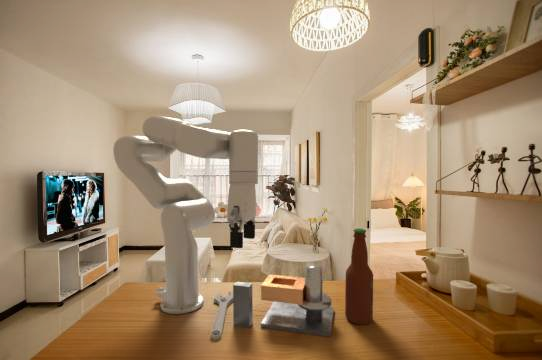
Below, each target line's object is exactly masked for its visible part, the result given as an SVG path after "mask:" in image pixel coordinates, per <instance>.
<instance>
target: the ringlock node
mask: <svg viewBox="0 0 542 360" xmlns="http://www.w3.org/2000/svg"><path fill="white" fill-rule="evenodd" d="M323 269H324V266H323V265H321V264H318V263H307V264H304V277H301V276H290V275H278V274H268V276H266V278H265V280H264V281H263V282H262V283H261V285H260V300H261V301H268V302H272V303H271V305H270V307H269V309H268V310H267V312H266V313H265V316H264V318H263V319H262V321H261V322H260V328H265V329H271V328H272V329H271V330H279V331H285V332H293V333H301V334H306V335H313V336H320V337H327V338H331V337H332V335H331V334H332V330H333V329H332V327H333V319H334V310H335V309H334V308H335V307H334V306H332V301H333V299H332V298H331V296H330V295H328V294H326V293H323V291H324V290H323V289H324V288H323V287H324V286H323V285H324V270H323Z"/></svg>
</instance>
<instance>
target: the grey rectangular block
mask: <svg viewBox="0 0 542 360" xmlns="http://www.w3.org/2000/svg"><path fill="white" fill-rule="evenodd" d="M232 292H233V302H232V304H233V308H232V311H233V327H238V328H239V327H240V328H246V329H251V327H252V325H253V323H254V322H253V313H254V312H253V282H243V281H236V282H235V283H234V284H233V285H232Z"/></svg>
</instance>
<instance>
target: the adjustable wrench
mask: <svg viewBox="0 0 542 360" xmlns="http://www.w3.org/2000/svg"><path fill="white" fill-rule="evenodd" d="M231 302H232V303H233V291H229V290H228V295H226V296H223V295H222V293H221V292H219V293H217V294H216V295H215V297H214V298H213V303H214V304H216V303H217V305H218V309H217V312H216V315H215V318H214V321H213V325H212V327H211V331H210V339H211V340H214V341H217V340H219V339H221V338H222V335H223V329H224V324H225V320H226V314H227V309H228V307H229V306H230V305H231V304H232V303H231Z"/></svg>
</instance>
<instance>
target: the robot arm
mask: <svg viewBox="0 0 542 360" xmlns="http://www.w3.org/2000/svg"><path fill="white" fill-rule="evenodd" d="M142 133H143V135H125V136H122V137H120V138H118V139H117V140H116V141H114V144H113V149H112V150H113V158H114V161H115V165H116V166H117V168H118V170H119V171H120V172H121V173H122V174H123V175H124V176H125V177H126V178H127V179H128V181H130V182H131V183H132V184H133V185H134V186H135V187H136V189H137V190H138V191H139V192H140V193H141V195H142V196H143V197H144V198H145V199H146V200H147V202H148V203H149V204H150V205H151V206H152V207H153V208H154V209H157V210H162V211H161V214H160V224H161V230H162V234H163V241H164V242H163V243H164V260H165V262H164V265H165V268H164V269H165V270H164V271H165V272H164V273H165V274H164V275H165V287H157V289H156V292H155V297H156V298H157V297H158V298H162V300H161V302H160V310H161V311H162V312H164V313H167V314H169V315H170V314H171V315H180V314H181V315H182V314H188V313H190V312H194V311H196V310H198V309H199V308H201V307H202V305H204V297H203V296H202V295H201V294H200V293H199V267H198V266H199V259H198V258H199V255H198V253H199V252H198V250H199V249H198V243H197V240H196V238H195V236H194V234H193V231H194V232H195V231H197V230H201V229H205V228H207V227H209V226H210V225H212V224H213V222H214V221H215V218H216V213H215V212H216V211H215V207H214V206H213V204H212V203H211V202H210V200H209V198H207V197H206V196H205V195H204V194H203V192H201V190H199V188H198V187H197V186H196V185H195V184H194V183H193V182H191V181H190V180H188V179H186V178H185V179H184V178H167V177H165V176H164V175H163V174H162V173H161V172H160V171H159V170H158V168H156V167H155V166H153V165H152V164H150V163H149V162H161V161H164V160H166V159H167V158H169V157H170V156H171V155H173V153H174V152H176V151H177V150H178V152H179V153H180V152H181V153H183V154H185V155H189V156H192V157H196V158H201V159H212V160H213V159H217V160H228V170H229V171H228V184H229V187H228V197H227V209H226V212H227V213H226V219H227V223H229V224H228V227H229V247H230V248H232V249H233V248H234V249H243V248H244V247H243V246H244V239H251V240H253V239H254V240H255V239H256V215H257V214H256V213H257V195H256V194H257V191H256V185H258V184H259V135H258V133H257V132H256V131H254V130H249V129H238V130H232V131H231V132H229V131H228V132H227V131H222V130H219V129H218V130H217V129H210V128H203V127H198V126H194V125H192V123H190V122H189V121H186V120H181V119H179V118H173V117H168V116H164V115H163V116H161V115H153V116H149V117H147V118H146V119H145V120H144V122H143V123H142Z"/></svg>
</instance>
